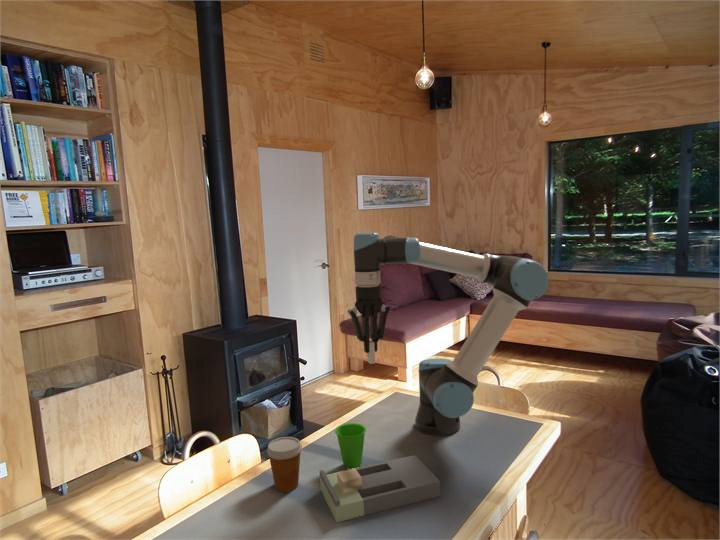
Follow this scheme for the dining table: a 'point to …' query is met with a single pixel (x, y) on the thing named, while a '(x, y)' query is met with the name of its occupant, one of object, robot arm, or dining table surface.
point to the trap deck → (381, 488)
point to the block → (349, 480)
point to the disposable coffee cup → (285, 462)
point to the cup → (351, 443)
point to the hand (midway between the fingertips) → (371, 362)
